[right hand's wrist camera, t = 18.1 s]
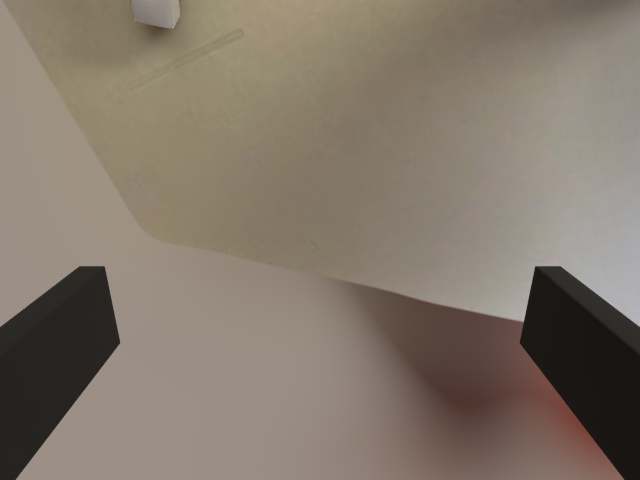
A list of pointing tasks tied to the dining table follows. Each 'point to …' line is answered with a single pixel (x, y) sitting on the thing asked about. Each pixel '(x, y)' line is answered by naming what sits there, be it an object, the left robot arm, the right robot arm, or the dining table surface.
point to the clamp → (156, 12)
